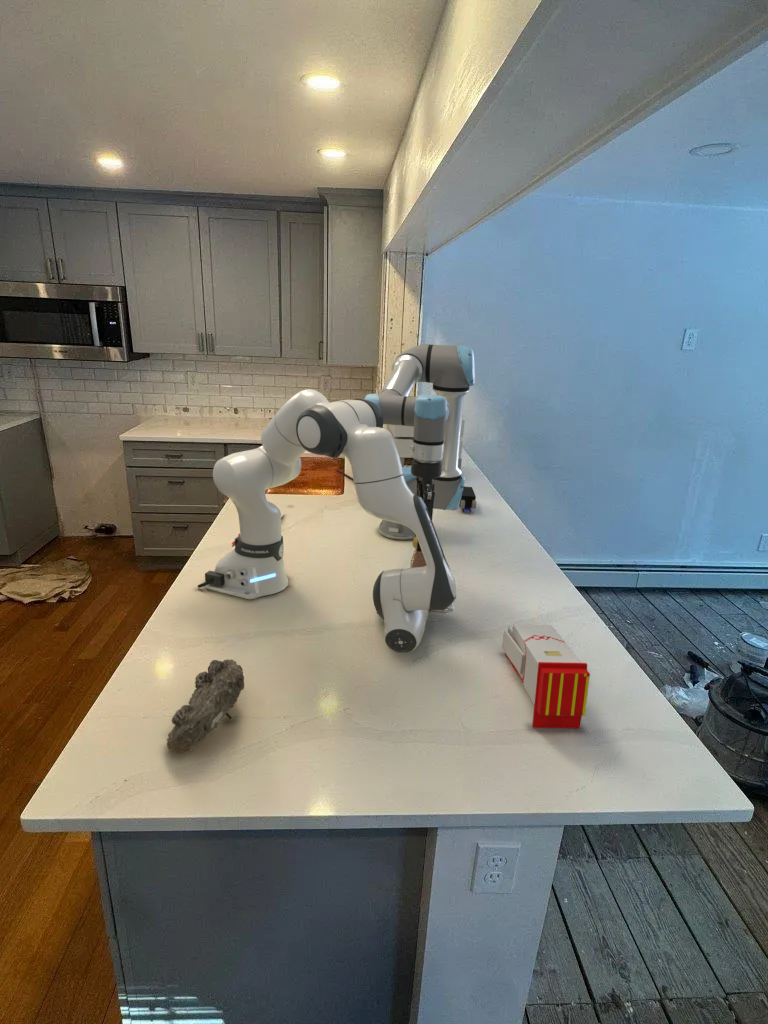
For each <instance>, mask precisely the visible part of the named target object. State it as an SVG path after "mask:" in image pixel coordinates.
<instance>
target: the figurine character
mask: <svg viewBox="0 0 768 1024" xmlns="http://www.w3.org/2000/svg"><path fill="white" fill-rule="evenodd" d="M476 498H477V496H476V493H475V491H474V489H473V487H472V486H465V485H464V487H463V492H462V496H461V500H460V505H459V507H458V508H459V509H461V511H462V513H465V511H469V514H471V513H473V511H472V510H475V509H476V508H477V500H476Z"/></svg>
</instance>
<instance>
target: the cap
mask: <svg viewBox="0 0 768 1024" xmlns="http://www.w3.org/2000/svg"><path fill="white" fill-rule="evenodd" d="M417 542H418V539H417V536H416V537H414V539H412V547H413V548H414V550H415V549H417Z"/></svg>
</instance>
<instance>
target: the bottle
mask: <svg viewBox="0 0 768 1024" xmlns="http://www.w3.org/2000/svg"><path fill="white" fill-rule="evenodd" d="M426 565H427V564H426V561H425V558H424V556H423V553H422V551H417V549H415V548H414V551H413V554H412V557H411V560H410V567H409V568H416V567H424V566H426Z"/></svg>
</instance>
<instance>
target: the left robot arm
mask: <svg viewBox="0 0 768 1024" xmlns="http://www.w3.org/2000/svg"><path fill="white" fill-rule="evenodd" d="M383 427H384V424H383V416H382V413H381V411H380V409H379V407H378V406H377V405H376V404H375V403H373V402H371V401H369V400H365V398H351V399H341V400H340V399H339V400H335V401H331V402H330V401H329V400H328V398H327V397H325V396H324V394H322V393H321V392H320V391H318V390H316V389H313V388H306V389H302V390H299V392H297V393H296V394H294V395H293V396H292V397H291V398H289V399H288V400H287V401H286V402H285V403H284V404H283V405H282V406H281V407H280V408H279V410H277V412H276V413H275V414H274V415H273V417H272V418H271V419H270V420H269V422H268V423H267V424H266V426H265V427H264V428H263V429H262V432H261V434H260V438H261V439H260V441H261V446H259V447H256V448H253V449H247V450H242V451H238V452H237V451H236V452H232V453H231V454H228V455H226V456H224V457H222V458H220V459H218V460H217V461H216V462H215V464H214V465H213V468H212V480H213V483H214V486H215V487H216V489H217V490H218V492H220V493H221V494H222V495H224V496H225V497H227V498H229V499H230V501H231V502H232V503H233V504H234V506H235V508H236V511H237V515H238V523H239V533H238V535H237V536H236V537H235V538H234V540H233V541H232V542H231V547H232V548H233V547H234V548H233V549H231V551H229V552H227V553H226V554H224V556H222V557H221V558H220V559H219V560H218V561H217V562H216V565H215V568H214V571H213V570H208V571H207V572H205V573H204V580H205V581H204V582H202V583H199V584H197V588H198V589H200V588H203V587H205V588H206V589H208V590H211V591H215V592H218V593H222V594H227V595H230V596H233V597H238V598H242V599H245V600H254V599H257V598H260V597H265V596H270V595H275V594H277V593H279V592H283V590H286V588H287V587H288V586H289V579H288V577H287V573H286V569H285V562H284V553H285V544H284V536H283V535H282V520H281V518H282V512H281V510H280V508H279V507H278V506H277V505H276V504H274V503H273V502H271V501H268V500H267V495H266V491H267V490H268V489H269V490H270V489H273V488H276V487H280V486H284V485H286V484H288V483H290V482H291V481H293V480H295V479H296V478H298V477H299V475H300V473H301V471H302V460H301V457H302V455H304V453H305V452H309V453H310V454H313V455H319V456H325V457H329V458H332V459H338V458H339V457H340V456H341V455H342V456H344V457H345V458H346V459H347V460H348V462H349V464H350V467H351V472H352V478H353V480H354V481H353V480H352V481H353V484H354V490H355V494H356V498H357V501H358V503H359V505H360V507H361V508H362V509H363V510H364V511H365V512H366V513H368V514H369V515H371V516H373V517H374V518H377V519H379V520H382V519H383V520H387V521H392V522H396V523H399V524H402V525H404V526H406V527H408V528H410V529H411V530H412V531H413V532H414V533H415V534H416V536H417V539H418V542H419V544H420V547H421V550H422V553H423V556H424V558H425V561H426V564H427V565H426V566H424V567H416V568H410V567H407V568H394V569H385V570H382V571H381V572H380V573H379V575H378V576H377V577H376V579H375V581H374V583H373V590H372V601H373V606H374V609H375V611H376V614H377V616H379V618H380V619H381V620H382V621H383V622H384V623H383V624H384V631H383V639H384V643H385V645H386V647H387V648H388V649H390V650H392V651H393V652H396V653H400V654H401V653H402V654H403V653H404V654H406V653H410V652H412V651H414V650H416V648H417V647H418V646H419V644H420V643H421V641H422V638H423V636H424V632H425V629H426V622H427V620H428V616H429V613H434V614H441V615H442V614H443V615H444V614H449V613H450V612H451V613H453V612H454V611H455V600H456V599H457V582H456V580H455V577H454V575H453V573H452V569H450V568H451V567H450V566H449V564H448V562H447V559H446V556H445V553H444V550H443V548H442V545H441V542H440V539H439V536H438V532H437V530H436V527H435V525H434V522H433V518H432V519H431V517H430V514H429V512H428V509H427V507H426V505H425V503H424V501H423V500H422V498H421V497H419V496H417V495H414V494H413V493H412V492H411V490H410V489H409V487H408V486H407V484H406V481H405V479H404V474H403V468H402V464H401V460H400V456H399V452H398V449H397V446H396V443H395V441H394V438H393V436H392V434H391V433H390V432H389V431H388V430H386V428H383Z"/></svg>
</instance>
